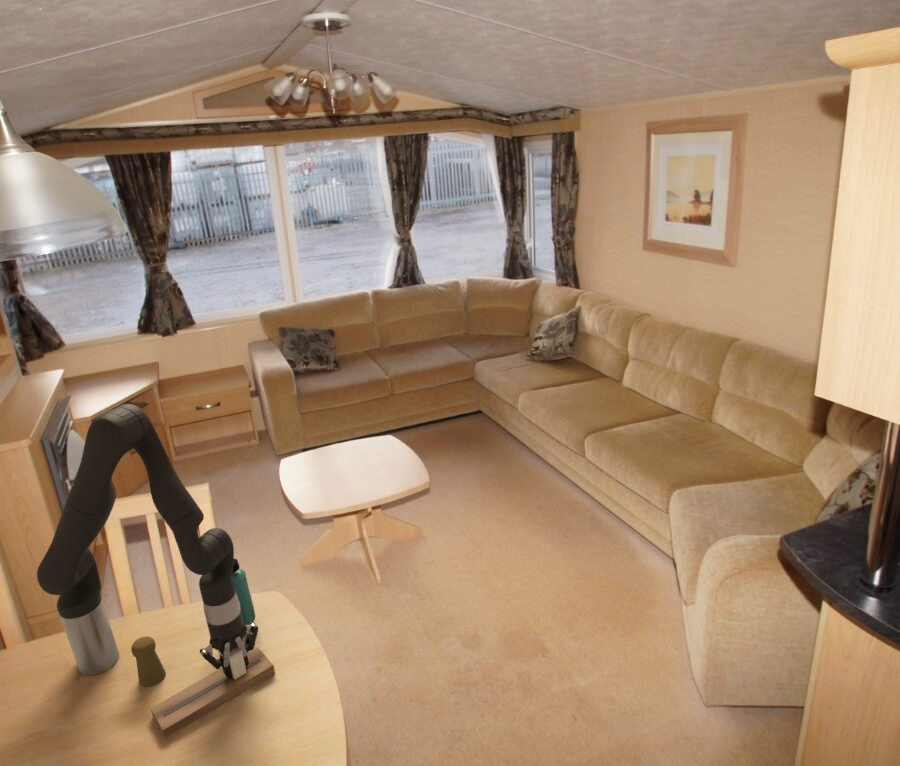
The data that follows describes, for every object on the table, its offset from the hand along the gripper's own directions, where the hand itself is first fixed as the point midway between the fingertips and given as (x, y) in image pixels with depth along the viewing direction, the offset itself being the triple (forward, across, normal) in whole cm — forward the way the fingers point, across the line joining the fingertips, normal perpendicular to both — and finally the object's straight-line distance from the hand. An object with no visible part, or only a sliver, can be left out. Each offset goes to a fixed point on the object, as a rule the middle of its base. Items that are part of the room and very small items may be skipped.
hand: (236, 671), depth 160 cm
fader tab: (0, 0, 0) cm, 0 cm away
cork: (+3, +15, -16) cm, 22 cm away
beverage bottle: (+3, -9, -17) cm, 20 cm away
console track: (+3, +6, 0) cm, 6 cm away
